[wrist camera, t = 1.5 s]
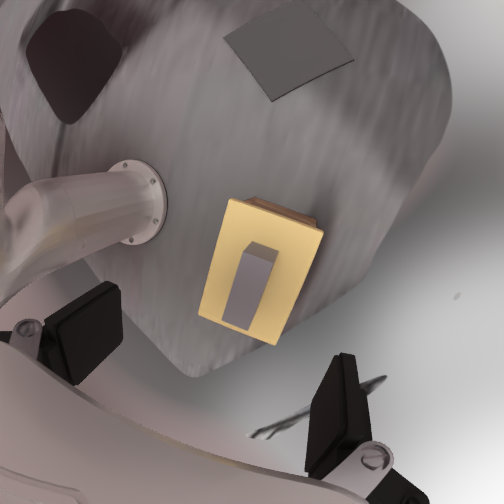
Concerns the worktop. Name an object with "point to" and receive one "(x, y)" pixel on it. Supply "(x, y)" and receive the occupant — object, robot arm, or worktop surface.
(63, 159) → the worktop surface
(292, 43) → the mat
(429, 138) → the worktop surface
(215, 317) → the lid
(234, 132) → the worktop surface
